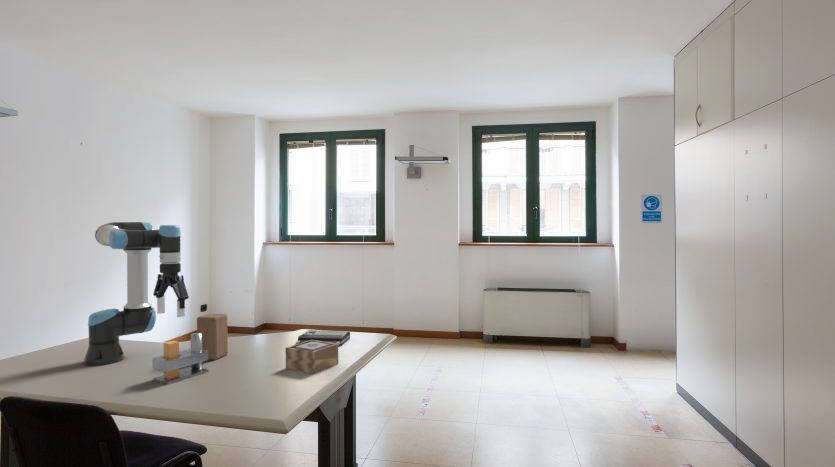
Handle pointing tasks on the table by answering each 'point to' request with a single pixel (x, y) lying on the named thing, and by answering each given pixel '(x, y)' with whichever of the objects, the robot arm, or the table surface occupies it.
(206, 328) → the wooden block
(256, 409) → the table surface
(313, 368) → the box
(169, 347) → the orange square bar
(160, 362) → the grey slotted stand
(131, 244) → the robot arm
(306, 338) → the radio
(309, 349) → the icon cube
